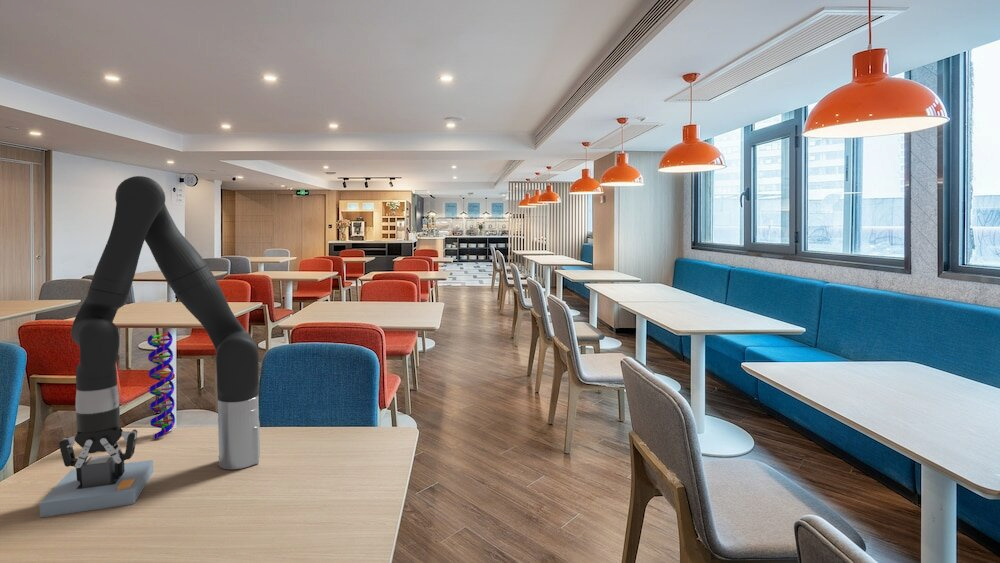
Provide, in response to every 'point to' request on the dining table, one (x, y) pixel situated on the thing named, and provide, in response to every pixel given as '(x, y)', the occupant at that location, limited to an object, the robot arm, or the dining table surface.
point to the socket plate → (96, 491)
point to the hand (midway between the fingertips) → (101, 479)
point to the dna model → (161, 383)
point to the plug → (98, 472)
